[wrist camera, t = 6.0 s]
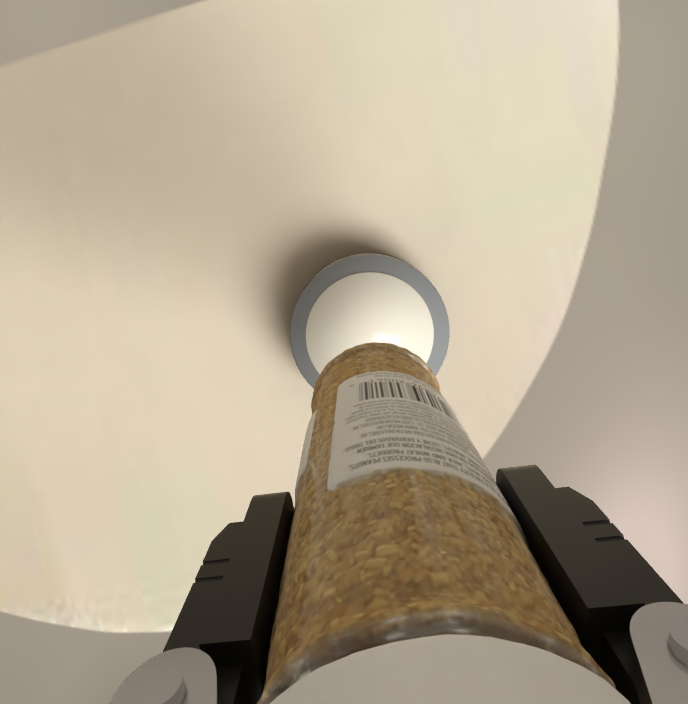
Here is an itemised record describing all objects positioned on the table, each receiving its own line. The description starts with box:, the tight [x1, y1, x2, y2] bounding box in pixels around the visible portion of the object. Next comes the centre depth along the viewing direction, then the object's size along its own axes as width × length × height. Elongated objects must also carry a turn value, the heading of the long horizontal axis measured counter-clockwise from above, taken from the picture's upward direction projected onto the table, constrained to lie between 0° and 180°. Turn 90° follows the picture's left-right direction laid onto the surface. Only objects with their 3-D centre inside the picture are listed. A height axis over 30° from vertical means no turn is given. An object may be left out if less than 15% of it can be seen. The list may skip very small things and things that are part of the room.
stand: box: [290, 253, 449, 389], centre depth 27 cm, size 9×9×3 cm
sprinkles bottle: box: [257, 342, 631, 704], centre depth 9 cm, size 5×5×14 cm
